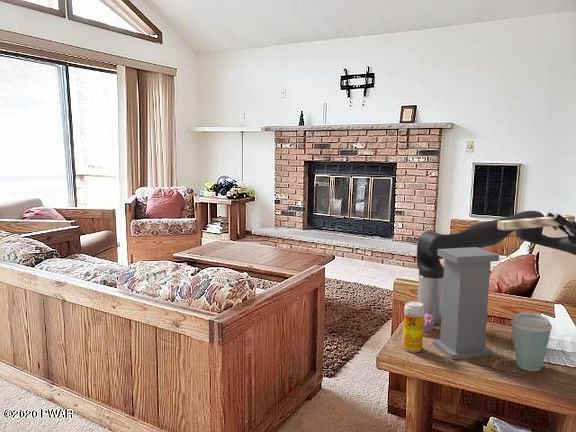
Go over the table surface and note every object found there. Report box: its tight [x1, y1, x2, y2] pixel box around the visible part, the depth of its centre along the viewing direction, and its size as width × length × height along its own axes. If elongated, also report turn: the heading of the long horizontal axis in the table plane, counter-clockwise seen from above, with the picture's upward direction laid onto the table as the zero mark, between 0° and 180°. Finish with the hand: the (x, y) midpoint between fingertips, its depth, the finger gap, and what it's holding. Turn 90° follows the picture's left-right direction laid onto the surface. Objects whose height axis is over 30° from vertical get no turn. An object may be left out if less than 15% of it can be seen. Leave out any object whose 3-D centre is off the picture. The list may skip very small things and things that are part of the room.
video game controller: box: [423, 313, 435, 335], centre depth 163 cm, size 10×5×7 cm, turn 169°
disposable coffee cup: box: [510, 312, 553, 372], centre depth 136 cm, size 11×11×15 cm
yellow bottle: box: [402, 300, 424, 353], centre depth 147 cm, size 6×6×15 cm
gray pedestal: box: [432, 247, 500, 360], centre depth 145 cm, size 14×11×32 cm
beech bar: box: [497, 214, 576, 230], centre depth 147 cm, size 26×3×2 cm, turn 103°
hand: (551, 215), depth 148 cm, fingers closed on beech bar, 3 cm apart
